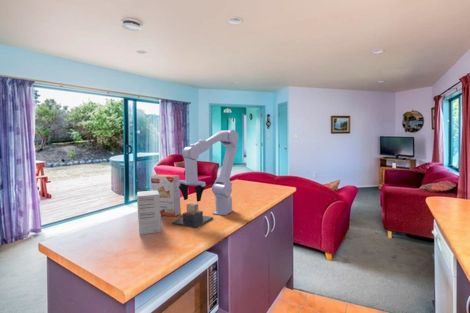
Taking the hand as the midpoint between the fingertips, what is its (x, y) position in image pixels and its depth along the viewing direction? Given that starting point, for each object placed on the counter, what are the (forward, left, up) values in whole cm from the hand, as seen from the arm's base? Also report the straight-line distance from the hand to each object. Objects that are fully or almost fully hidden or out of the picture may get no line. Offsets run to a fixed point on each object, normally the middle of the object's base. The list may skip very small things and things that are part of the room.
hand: (192, 200), depth 127 cm
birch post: (0, 0, -9) cm, 9 cm away
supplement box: (+17, -11, -11) cm, 23 cm away
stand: (0, 0, -10) cm, 10 cm away
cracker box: (-4, -20, -11) cm, 23 cm away
